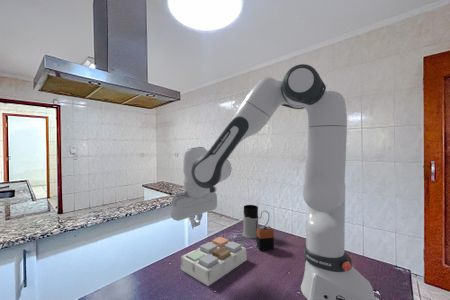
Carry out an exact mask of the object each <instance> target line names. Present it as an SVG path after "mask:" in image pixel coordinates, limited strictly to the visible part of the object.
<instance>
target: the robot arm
mask: <svg viewBox="0 0 450 300" xmlns="http://www.w3.org/2000/svg"><path fill="white" fill-rule="evenodd" d="M326 89H327V86H326V84H325V83H324V81H323V79H322V78H321V75H320V74H319V73H318V71H317V70H316V68H314V67H313V66H311V65H309V64H303V63H302V64H301V63H300V64H296V65H294V66H292V67H290V69H288V70H287V72H286V73H285V75H284V76H283V78H282V80H277V79H275V78H273V77H271V76H270V77H268V76H266V77H263V78H261V79H259V80H258V82H257V83H256V84H255V85H253V87H252V88H251V90H250V91H249V92H248V93H247V95H246V96H245V97H244V99H243V100H242V102H241V104H240V105H239V107H238V108H237V110H236V112H235V113H234V115H233V117H232V118H231V120H230V121H229V123H228V124H227V126H226V127H225V128H224V130H223V131H222V132H221V133H220V134H219V136H218V138H217V139H216V141H215V142H214V143H213V145H211V147H210V149H208V150H207V149H206V148H205V147H203V146H198V147H191V148H188V149H187V150H185V152H184V156H183V163H182V164H183V168H182V169H183V170H182V171H183V174H184V176H183V177H184V180H183V192H180V193H175V195H173V197H172V199H171V201H172V202H171V210H170V212H171V213H170V218H171V219H172V220H173V221H177V222H178V221H179V222H180V221H183V220H185V219H188V220H189V221H190V222H191V227H192V228H196V227H198V226H200V225H201V221H202V219H203V218H202V217H203V214H205V213H207V212H211V211H213V210H216V208H217V207H218V196H217V193H216V192H217V186H216V185H217V184H219V183H222V182H223V181H225V180H227V179H228V178H229V177H230V175H232V174H231V173H232V164H231V162H230V161H229V158H230V156H231V154H232V153H233V152H234V150H235V149H236V147H237V146H239V144H241V142H242V141H243V140H245V139H248V138H250V137H252V136H253V135H256V134H257V133H259V132H260V131H261V130H262V129H263V128H264V127H265V126H266V125H267V124H268V122H269V120H270V119H271V118H272V116H273V115H274V113H275V112H276V111H277V110H278V109H279V108H280V106H283V107H286V108H289V109H295V110H304V109H305V110H306V112H307V113H306V114H307V118H308V119H307V120H308V121H307V144H306V145H307V146H306V147H307V149H306V157H305V158H306V159H305V165H304V174H303V185H302V197H303V200H304V203H305V204H306V205H307V214H306V215H307V217H306V220H305V224H306V225H305V226H306V227H305V233H306V234H305V235H306V237H305V239H306V240H305V245H304V254H303V257H304V262H305V264H304V265H305V266H304V273H303V277H302V283H301V284H300V291H301V294H302V295H303V296H304V297H305V298H306V300H380V298H379V297H377V296H375V293H374V289H373V286H372V284H371V283H370V281H369V280H368V279H367V278H366V277H364V276H363V275H362V274H361V273H360V272H359V271H358V270H357V269H355V267H354V266H353V254H350V255H348V253H347V252H346V250H345V234H346V233H345V230H346V229H345V227H346V226H345V223H346V182H345V181H346V161H347V159H346V158H347V135H348V131H347V130H348V127H347V126H348V117H347V116H348V114H347V107H346V101H345V97H344V95H343V94H341V93H340V92H337V91H334V90H326Z"/></svg>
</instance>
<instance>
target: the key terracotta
mask: <svg viewBox="0 0 450 300" xmlns="http://www.w3.org/2000/svg"><path fill="white" fill-rule="evenodd" d="M228 241H229V239H227V238H224V237H222V236H218V237H216V238H214V239H212V240H211V242H212V243H213V244H215V245H217V247H219V248H220V247H224V245H226V244H228Z"/></svg>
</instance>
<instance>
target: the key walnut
mask: <svg viewBox="0 0 450 300" xmlns="http://www.w3.org/2000/svg"><path fill="white" fill-rule="evenodd" d="M212 255H213V256H215V257H217V258H218V259H219V260H221V261H222V260H224V259H226V258H227V257H229V256H230V251H229V250H227V249H225V248H222V247H220V248H218V249H216V250H214V251H212Z"/></svg>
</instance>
